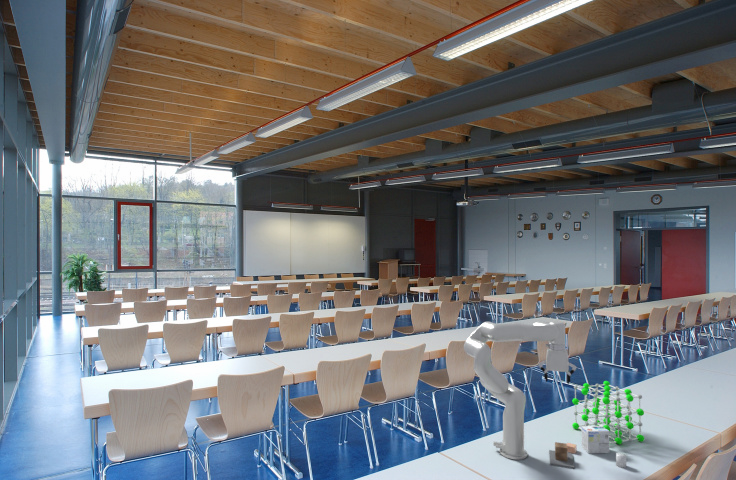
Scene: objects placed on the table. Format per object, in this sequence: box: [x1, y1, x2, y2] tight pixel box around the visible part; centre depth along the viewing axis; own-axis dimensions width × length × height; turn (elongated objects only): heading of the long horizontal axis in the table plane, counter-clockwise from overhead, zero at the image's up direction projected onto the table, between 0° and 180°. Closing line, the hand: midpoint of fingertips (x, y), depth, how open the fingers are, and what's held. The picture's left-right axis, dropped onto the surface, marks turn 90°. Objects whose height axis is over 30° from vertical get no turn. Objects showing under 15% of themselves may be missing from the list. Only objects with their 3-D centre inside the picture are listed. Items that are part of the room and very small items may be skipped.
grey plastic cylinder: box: [615, 452, 627, 469], centre depth 200 cm, size 4×4×5 cm
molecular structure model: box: [571, 380, 645, 446], centre depth 233 cm, size 24×25×24 cm
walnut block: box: [554, 441, 568, 461], centre depth 206 cm, size 5×5×6 cm
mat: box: [548, 449, 575, 470], centre depth 205 cm, size 10×14×1 cm
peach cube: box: [566, 442, 578, 454], centre depth 214 cm, size 4×4×3 cm
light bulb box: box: [580, 425, 610, 454], centre depth 215 cm, size 11×7×11 cm, turn 92°
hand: (557, 381), depth 218 cm, fingers open, 9 cm apart
